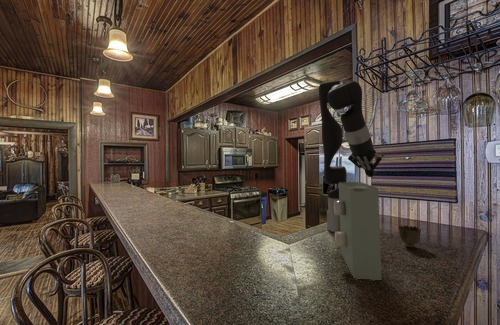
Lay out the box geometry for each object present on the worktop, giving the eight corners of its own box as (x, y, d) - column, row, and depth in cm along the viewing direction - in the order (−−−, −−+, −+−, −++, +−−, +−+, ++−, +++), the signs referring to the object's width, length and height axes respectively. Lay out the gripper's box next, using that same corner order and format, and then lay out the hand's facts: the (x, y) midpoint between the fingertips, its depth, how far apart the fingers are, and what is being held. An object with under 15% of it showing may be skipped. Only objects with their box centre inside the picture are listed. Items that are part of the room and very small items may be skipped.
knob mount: (353, 279, 72) (349, 188, 71) (341, 253, 91) (338, 182, 91) (381, 280, 70) (378, 188, 70) (363, 254, 90) (360, 182, 89)
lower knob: (337, 248, 79) (336, 234, 79) (335, 243, 84) (334, 229, 84) (359, 249, 78) (358, 234, 78) (355, 244, 83) (355, 230, 83)
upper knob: (336, 216, 79) (335, 202, 79) (334, 213, 84) (333, 199, 84) (358, 216, 78) (357, 202, 78) (354, 213, 83) (354, 199, 83)
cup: (425, 250, 91) (424, 230, 91) (404, 250, 92) (403, 229, 92) (415, 243, 98) (415, 225, 98) (396, 243, 99) (395, 224, 99)
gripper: (382, 131, 79) (393, 170, 86) (346, 133, 90) (358, 168, 96) (373, 143, 76) (385, 183, 82) (336, 144, 86) (350, 180, 93)
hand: (371, 175), depth 89 cm, fingers closed
